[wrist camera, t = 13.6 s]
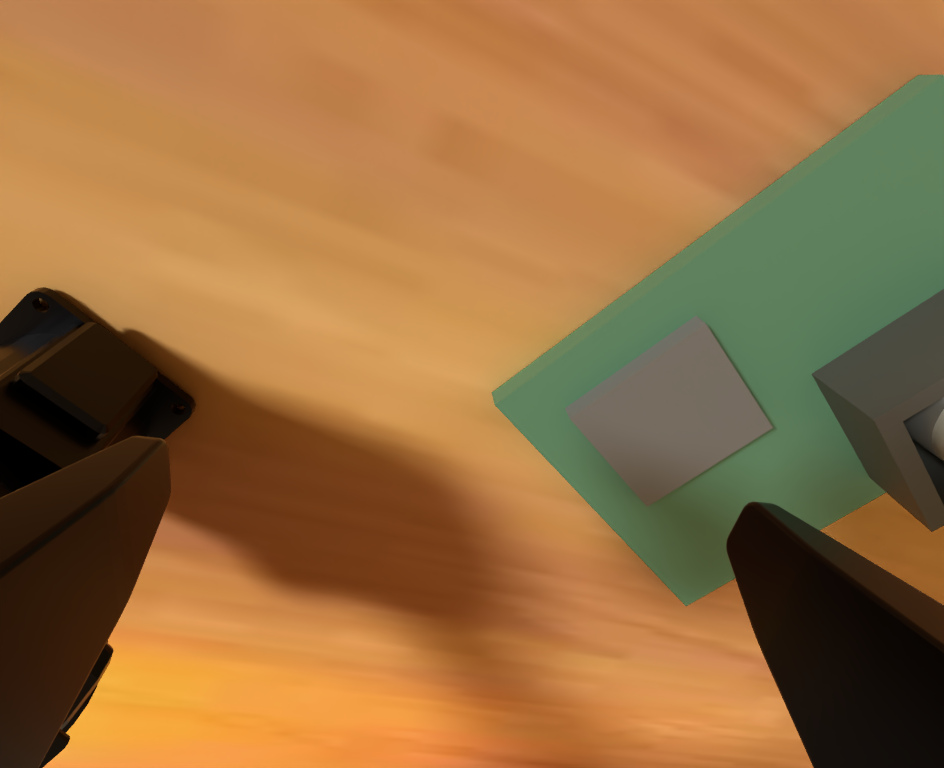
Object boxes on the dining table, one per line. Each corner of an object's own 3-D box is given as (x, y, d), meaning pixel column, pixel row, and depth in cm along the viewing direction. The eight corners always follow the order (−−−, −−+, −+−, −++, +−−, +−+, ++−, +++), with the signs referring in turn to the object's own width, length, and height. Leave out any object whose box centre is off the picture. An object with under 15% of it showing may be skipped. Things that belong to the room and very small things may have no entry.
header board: (677, 590, 29) (718, 669, 25) (491, 392, 23) (507, 457, 19) (1023, 391, 25) (1136, 448, 21) (918, 74, 18) (1054, 72, 15)
